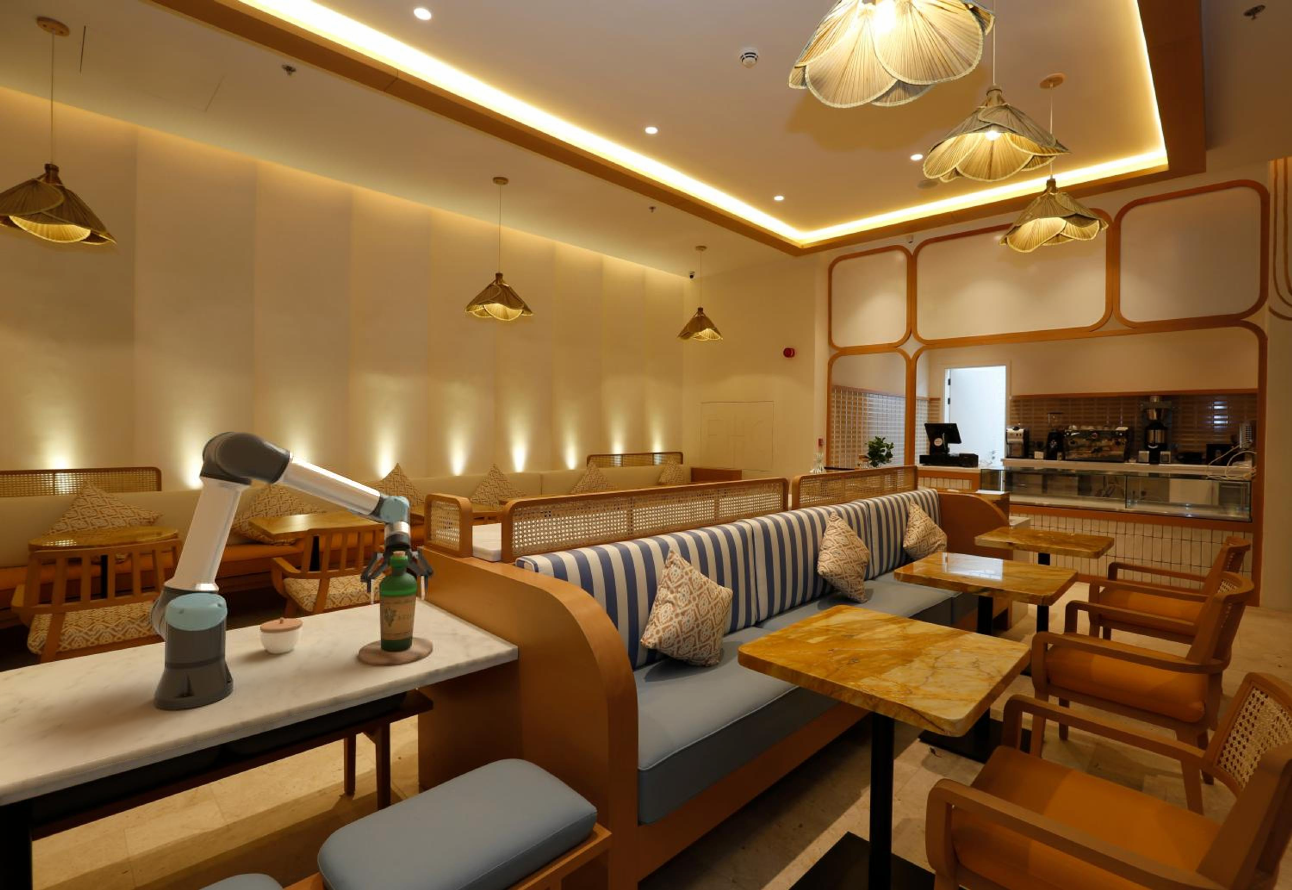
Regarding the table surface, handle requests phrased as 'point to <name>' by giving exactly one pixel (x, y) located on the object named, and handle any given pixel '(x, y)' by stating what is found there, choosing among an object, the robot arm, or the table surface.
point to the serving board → (395, 653)
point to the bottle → (397, 605)
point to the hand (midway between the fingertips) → (398, 599)
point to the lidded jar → (281, 634)
